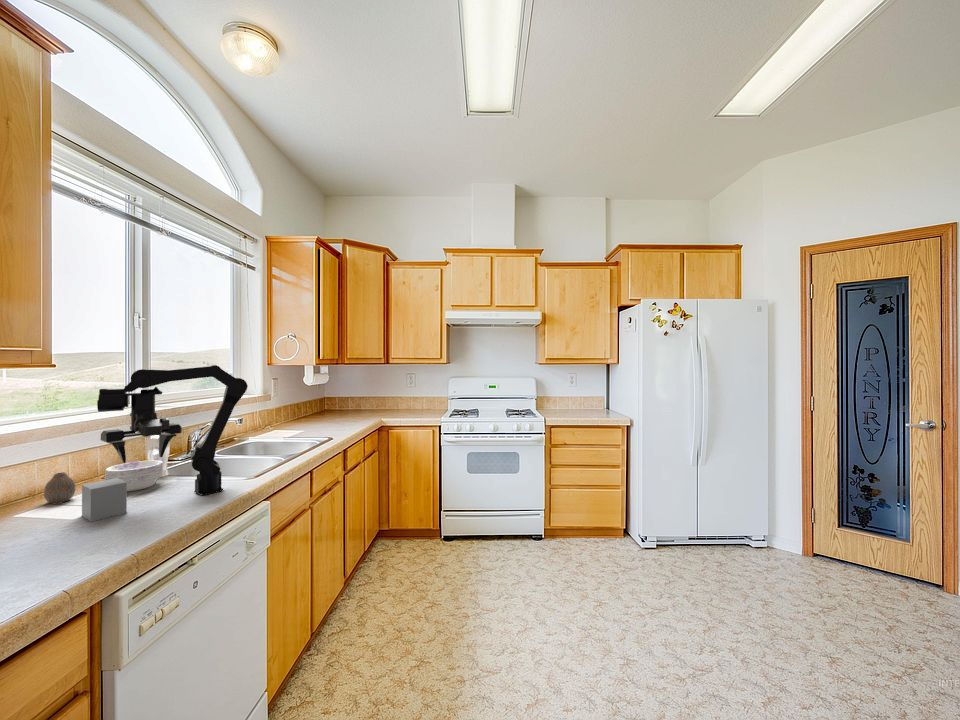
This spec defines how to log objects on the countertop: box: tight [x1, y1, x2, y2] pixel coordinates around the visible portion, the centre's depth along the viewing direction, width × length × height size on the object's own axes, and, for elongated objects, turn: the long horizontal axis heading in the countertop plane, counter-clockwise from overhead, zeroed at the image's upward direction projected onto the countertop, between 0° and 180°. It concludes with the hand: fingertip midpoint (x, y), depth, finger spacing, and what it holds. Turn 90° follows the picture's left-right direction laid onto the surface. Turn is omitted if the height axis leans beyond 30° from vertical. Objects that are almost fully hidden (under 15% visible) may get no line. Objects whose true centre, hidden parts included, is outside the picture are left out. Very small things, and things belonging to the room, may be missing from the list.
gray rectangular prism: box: [81, 478, 128, 522], centre depth 117 cm, size 8×8×9 cm
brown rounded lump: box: [43, 472, 76, 504], centre depth 127 cm, size 7×7×9 cm
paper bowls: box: [104, 460, 163, 492], centre depth 141 cm, size 15×15×8 cm
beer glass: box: [146, 435, 171, 479], centre depth 155 cm, size 7×7×15 cm
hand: (143, 460), depth 127 cm, fingers open, 9 cm apart
